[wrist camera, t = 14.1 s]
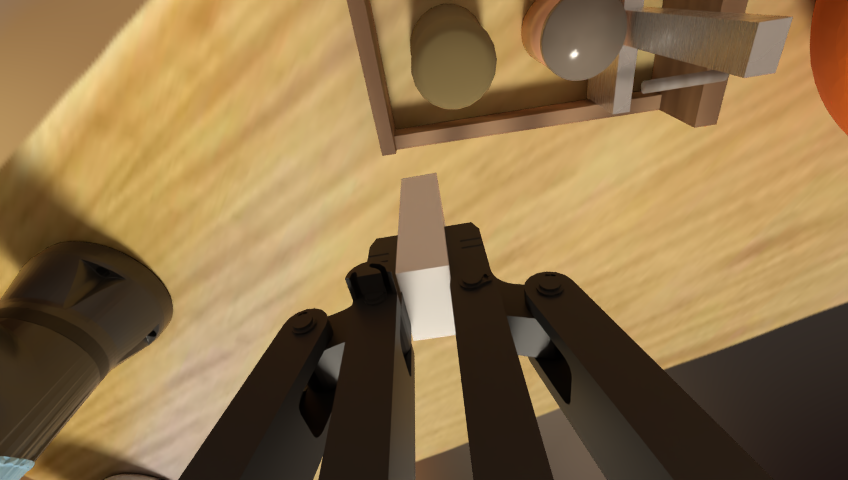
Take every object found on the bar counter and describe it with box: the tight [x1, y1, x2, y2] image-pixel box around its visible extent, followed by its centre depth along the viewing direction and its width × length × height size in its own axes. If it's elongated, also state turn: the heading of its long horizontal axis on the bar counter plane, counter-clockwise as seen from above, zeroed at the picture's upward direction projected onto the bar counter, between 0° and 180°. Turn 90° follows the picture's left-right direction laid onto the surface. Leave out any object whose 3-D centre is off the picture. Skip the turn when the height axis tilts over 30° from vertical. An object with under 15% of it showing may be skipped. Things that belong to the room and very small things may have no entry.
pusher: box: [587, 0, 793, 114], centre depth 22 cm, size 1×11×18 cm, turn 9°
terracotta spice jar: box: [521, 0, 627, 81], centre depth 27 cm, size 5×5×7 cm
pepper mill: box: [411, 4, 497, 109], centre depth 27 cm, size 6×6×11 cm
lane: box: [347, 0, 748, 156], centre depth 27 cm, size 25×14×8 cm, turn 99°
